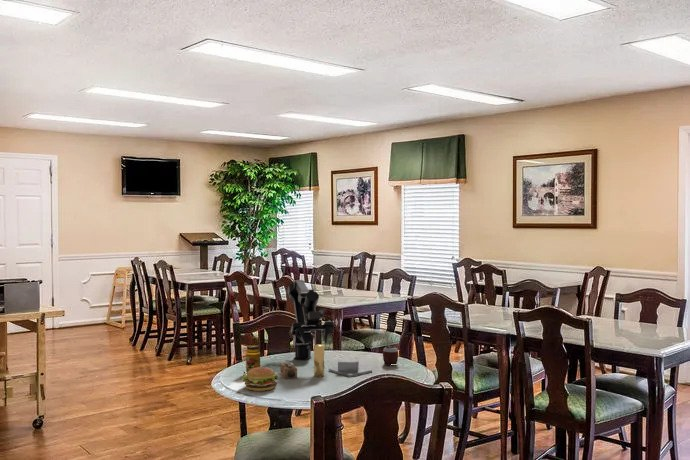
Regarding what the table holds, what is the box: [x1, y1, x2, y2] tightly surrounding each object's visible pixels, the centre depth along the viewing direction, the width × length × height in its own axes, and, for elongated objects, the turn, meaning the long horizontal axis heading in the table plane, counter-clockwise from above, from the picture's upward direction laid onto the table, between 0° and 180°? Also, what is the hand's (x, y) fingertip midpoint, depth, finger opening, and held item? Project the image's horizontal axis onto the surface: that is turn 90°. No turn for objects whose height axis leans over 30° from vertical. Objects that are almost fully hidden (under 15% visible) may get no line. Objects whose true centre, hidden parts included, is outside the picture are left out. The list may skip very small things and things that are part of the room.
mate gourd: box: [382, 330, 399, 367], centre depth 297 cm, size 8×8×15 cm
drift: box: [284, 359, 292, 368], centre depth 277 cm, size 9×2×2 cm, turn 16°
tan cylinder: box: [313, 344, 325, 378], centre depth 276 cm, size 4×4×13 cm
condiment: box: [245, 344, 261, 374], centre depth 280 cm, size 7×8×12 cm
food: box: [241, 366, 279, 392], centre depth 257 cm, size 14×14×8 cm
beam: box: [279, 361, 298, 380], centre depth 277 cm, size 12×5×4 cm, turn 16°
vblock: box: [328, 357, 373, 378], centre depth 283 cm, size 14×13×5 cm
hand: (315, 343), depth 282 cm, fingers open, 9 cm apart
